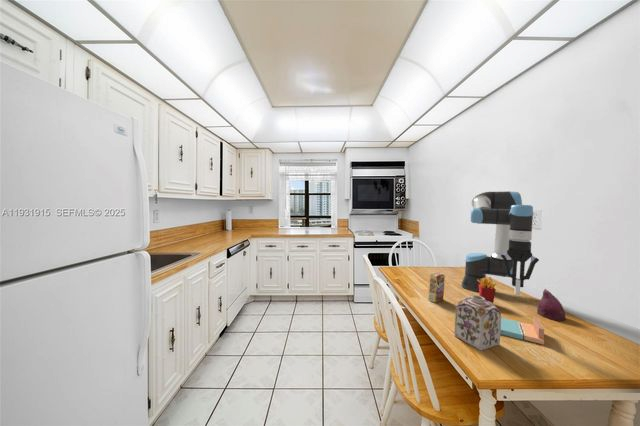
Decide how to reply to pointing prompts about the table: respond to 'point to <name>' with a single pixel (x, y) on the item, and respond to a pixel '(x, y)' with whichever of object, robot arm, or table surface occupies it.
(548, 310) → the vegetable
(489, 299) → the french fries
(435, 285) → the candy box
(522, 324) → the stub
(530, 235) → the robot arm
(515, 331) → the ticket
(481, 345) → the decorative jar
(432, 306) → the table surface
